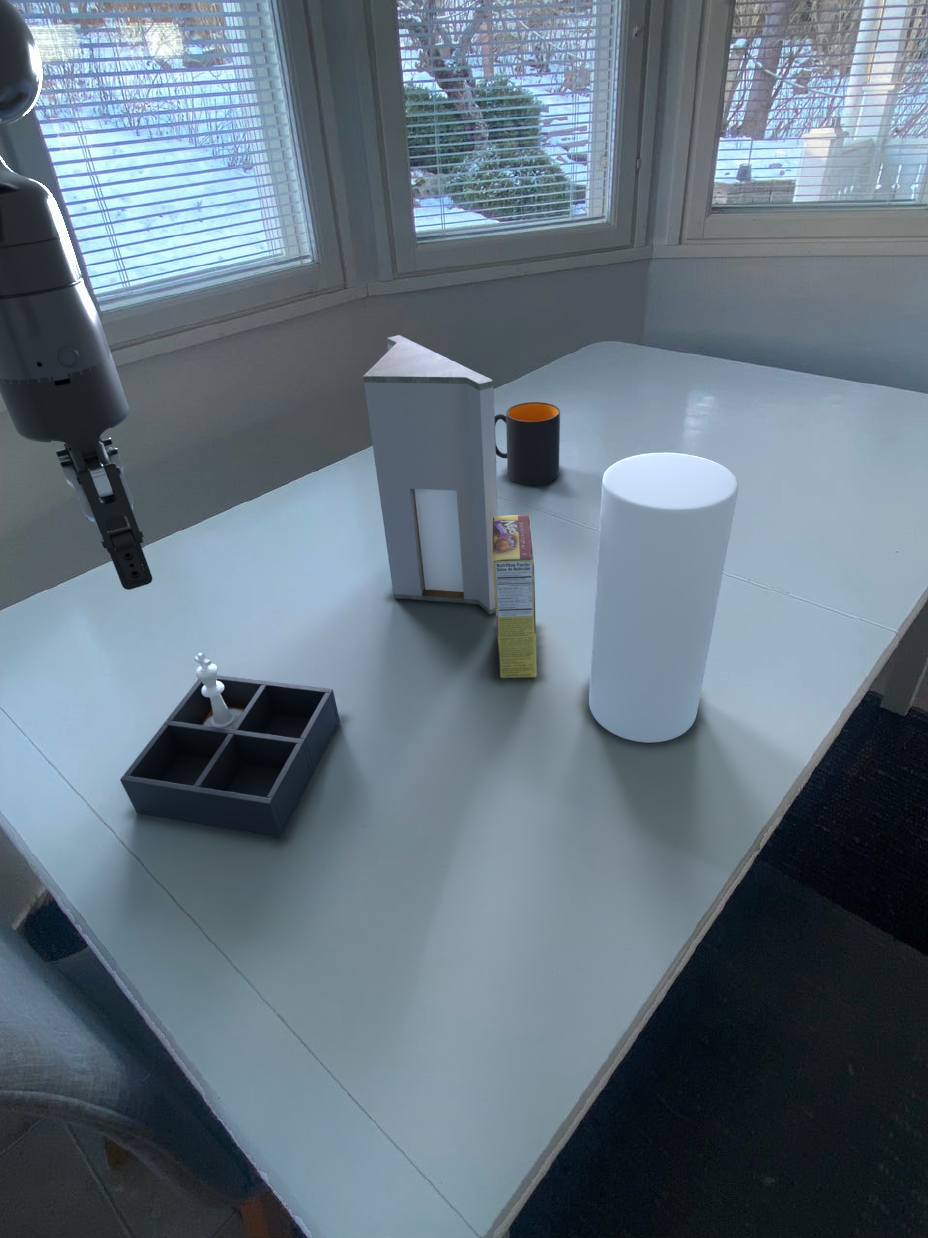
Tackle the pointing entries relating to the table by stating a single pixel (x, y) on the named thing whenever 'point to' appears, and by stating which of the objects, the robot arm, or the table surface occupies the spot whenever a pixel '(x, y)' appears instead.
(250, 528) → the table surface
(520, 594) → the candy box
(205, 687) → the chess piece
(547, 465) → the mug
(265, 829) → the tray
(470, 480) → the cabinet
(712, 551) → the tall pillar cylinder
